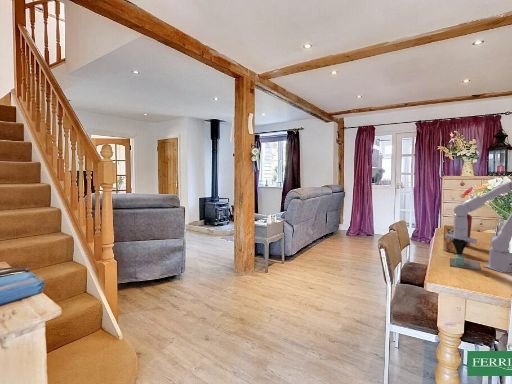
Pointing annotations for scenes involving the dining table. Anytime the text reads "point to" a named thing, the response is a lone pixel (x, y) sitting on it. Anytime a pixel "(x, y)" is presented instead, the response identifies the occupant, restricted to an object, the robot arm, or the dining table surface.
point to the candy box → (448, 239)
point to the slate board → (466, 264)
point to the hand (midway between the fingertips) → (459, 254)
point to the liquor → (469, 227)
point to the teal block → (459, 260)
